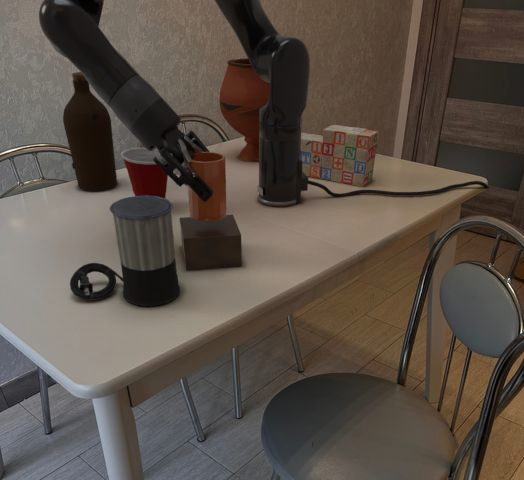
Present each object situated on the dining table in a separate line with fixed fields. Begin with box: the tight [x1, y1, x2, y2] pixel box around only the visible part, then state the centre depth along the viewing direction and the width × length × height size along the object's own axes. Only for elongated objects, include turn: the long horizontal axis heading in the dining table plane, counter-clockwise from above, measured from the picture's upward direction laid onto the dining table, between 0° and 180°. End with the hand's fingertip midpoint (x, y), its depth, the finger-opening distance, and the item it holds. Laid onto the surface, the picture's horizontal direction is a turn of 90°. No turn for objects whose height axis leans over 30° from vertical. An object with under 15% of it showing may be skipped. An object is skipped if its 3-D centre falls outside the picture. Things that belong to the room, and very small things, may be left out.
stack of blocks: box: [300, 124, 379, 188], centre depth 136 cm, size 21×6×12 cm, turn 59°
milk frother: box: [69, 195, 181, 307], centre depth 83 cm, size 14×16×15 cm
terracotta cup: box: [187, 151, 227, 222], centre depth 91 cm, size 6×6×10 cm
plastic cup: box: [120, 146, 169, 199], centre depth 116 cm, size 11×11×12 cm
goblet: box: [218, 57, 270, 162], centre depth 147 cm, size 19×19×25 cm
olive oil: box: [62, 71, 118, 192], centre depth 125 cm, size 11×11×25 cm
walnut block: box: [179, 213, 243, 271], centre depth 97 cm, size 10×10×6 cm
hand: (216, 191), depth 91 cm, fingers closed on terracotta cup, 6 cm apart
